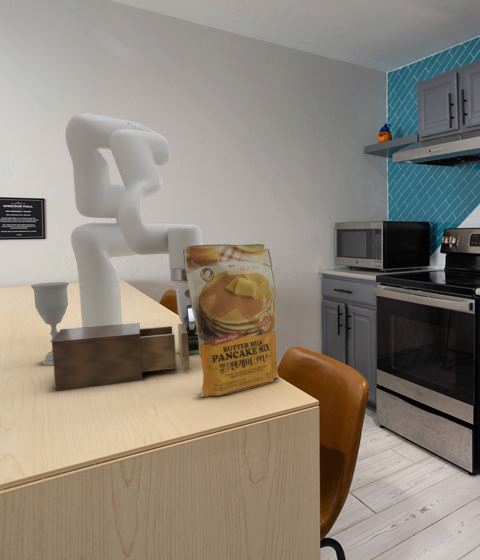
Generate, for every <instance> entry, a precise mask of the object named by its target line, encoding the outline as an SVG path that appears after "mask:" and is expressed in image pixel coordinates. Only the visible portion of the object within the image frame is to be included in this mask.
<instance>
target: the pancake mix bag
mask: <svg viewBox="0 0 480 560" xmlns="http://www.w3.org/2000/svg"><path fill="white" fill-rule="evenodd" d="M269 249H270V248H265V244H261V243H255V244H254V243H252V244H230V243H229V244H228V243H227V244H226V243H225V244H224V243H223V244H222V243H221V244H220V243H219V244H218V243H217V244H202V245H196V246H189V247H187V248H186V249H184V250H183V255H184V265H185V273H186V278H187V281H188V286H189V293H190V300H191V306H192V311H193V315H194V320H195V322H196V326H197V330H198V342H199V353H198V354H199V357H200V361H201V366H202V386H201V392H200V398H203V397H219V396H221V397H222V396H226V395H228V394H234V393H238V392H242V391H245V390H249V389H253V388H257V387H261V386H265V385H269V384H271V383H273V382H274V380H275V379H277V378H280V375H279V372H278V367H277V366H278V365H277V363H278V362H277V361H278V337H277V330H278V329H277V324H278V323H277V321H278V319H277V317H278V315H277V292H276V284H275V277H274V271H273V265H272V257H271V254H270V253H271V252H270V250H269Z"/></svg>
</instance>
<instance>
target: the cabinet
mask: <svg viewBox="0 0 480 560" xmlns="http://www.w3.org/2000/svg"><path fill="white" fill-rule="evenodd" d="M140 329H141V326H140V322H131V323H122V324H119V325H106V326H94V327H72V328H61V329H60V330H59V331H57V332H58V334H57V335H56V337H55V338H54V340H53V341H52V343H51V351H52V350H53V362H54V365H53V373H54V384H55V391H64V390H72V389H80V388H89V387H95V386H102V385H103V386H104V385H111V384H117V383H118V384H119V383H127V382H132V381H133V382H134V381H142V380H143V372H142V363H141V347H140Z"/></svg>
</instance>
